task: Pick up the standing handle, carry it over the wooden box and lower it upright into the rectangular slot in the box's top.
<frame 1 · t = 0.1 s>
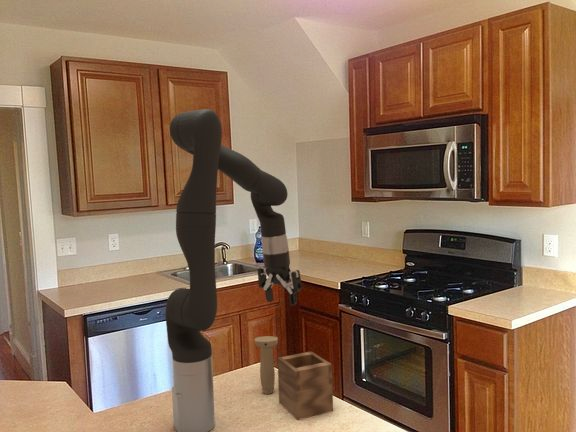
hand: (281, 303, 148), 22 cm above the countertop, tool pointing down, fingers open, 8 cm apart
wooden box: (305, 406, 130), on the countertop
handle: (268, 392, 140), on the countertop
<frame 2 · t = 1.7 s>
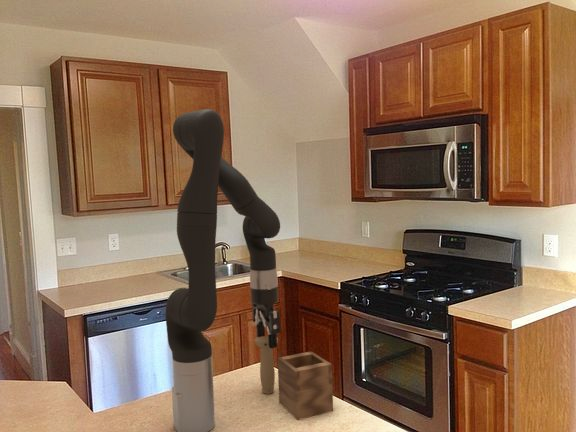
hand: (266, 343, 139), 14 cm above the countertop, tool pointing down, fingers open, 8 cm apart
nothing on the countertop moved.
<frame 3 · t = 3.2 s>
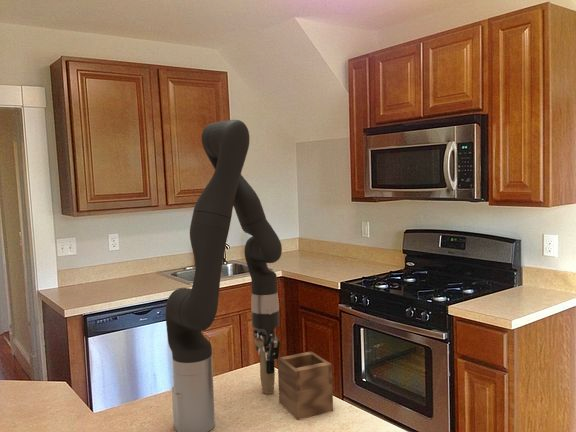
hand: (267, 370, 139), 6 cm above the countertop, tool pointing down, fingers closed on handle, 4 cm apart
handle: (268, 392, 140), on the countertop, touching gripper
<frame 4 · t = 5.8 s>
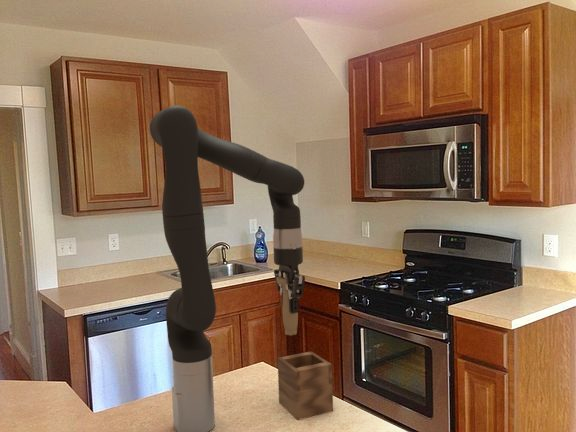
hand: (290, 310, 132), 24 cm above the countertop, tool pointing down, fingers closed on handle, 4 cm apart
handle: (291, 334, 132), point 18 cm above the countertop, touching gripper
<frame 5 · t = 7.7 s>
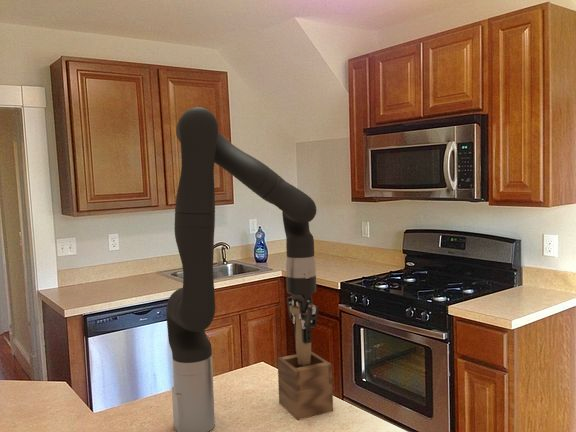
hand: (303, 340, 129), 17 cm above the countertop, tool pointing down, fingers closed on handle, 4 cm apart
handle: (304, 364, 129), point 11 cm above the countertop, touching gripper
when the fingers open (14 cm above the countertop, at t = 8.9 s): handle stays where it is, resting on wooden box.
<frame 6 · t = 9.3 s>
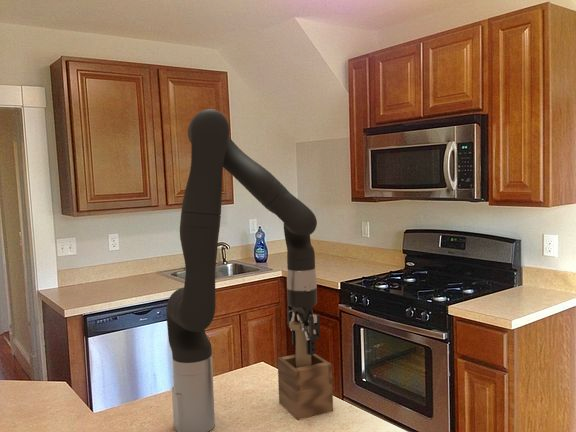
hand: (303, 349, 129), 15 cm above the countertop, tool pointing down, fingers open, 8 cm apart
handle: (304, 380, 130), point 7 cm above the countertop, touching wooden box
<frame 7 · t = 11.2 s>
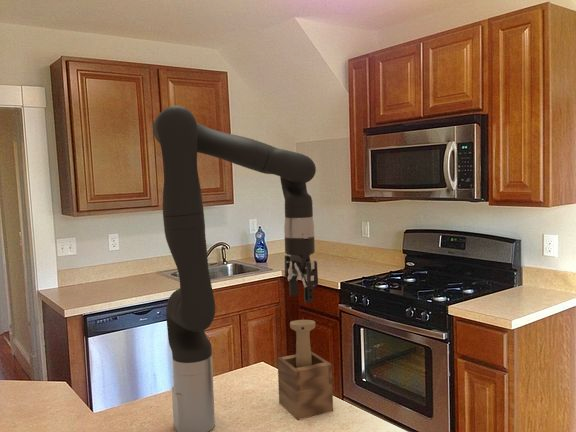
hand: (301, 298, 128), 28 cm above the countertop, tool pointing down, fingers open, 8 cm apart
nothing on the countertop moved.
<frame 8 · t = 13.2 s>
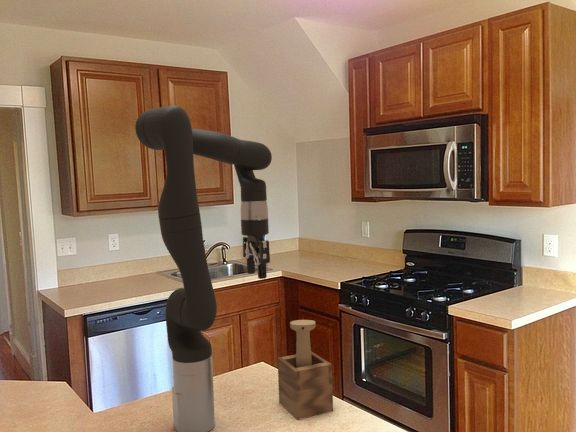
hand: (256, 275, 140), 32 cm above the countertop, tool pointing down, fingers open, 8 cm apart
nothing on the countertop moved.
at the end: handle 0.1 cm off-centre on the wooden box, point 6.8 cm above the wooden box's base; handle tilted 0°; the gripper is holding nothing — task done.
